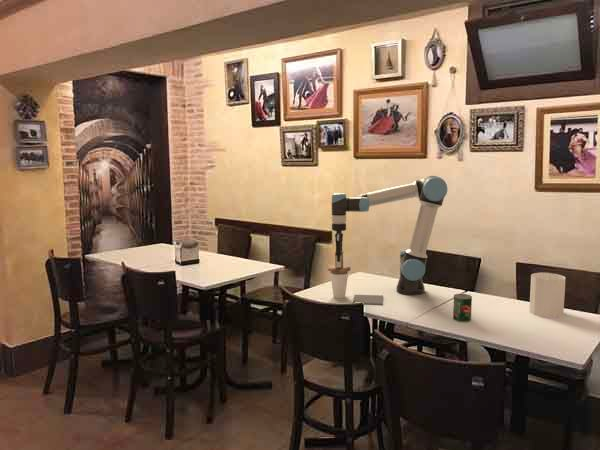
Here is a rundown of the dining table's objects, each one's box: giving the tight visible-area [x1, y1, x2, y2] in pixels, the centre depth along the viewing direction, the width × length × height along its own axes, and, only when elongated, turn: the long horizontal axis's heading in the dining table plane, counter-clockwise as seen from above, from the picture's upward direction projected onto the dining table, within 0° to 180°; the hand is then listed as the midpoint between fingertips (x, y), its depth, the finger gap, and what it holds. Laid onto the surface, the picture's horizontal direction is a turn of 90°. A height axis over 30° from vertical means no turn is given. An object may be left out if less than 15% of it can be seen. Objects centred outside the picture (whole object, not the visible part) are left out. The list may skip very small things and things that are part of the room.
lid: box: [327, 250, 351, 273], centre depth 270 cm, size 12×12×10 cm
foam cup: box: [329, 271, 349, 299], centre depth 271 cm, size 10×9×13 cm
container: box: [529, 272, 566, 319], centre depth 238 cm, size 14×14×18 cm
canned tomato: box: [452, 293, 473, 323], centre depth 232 cm, size 8×8×11 cm
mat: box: [352, 294, 384, 306], centre depth 264 cm, size 15×15×1 cm
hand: (339, 266), depth 270 cm, fingers closed on lid, 4 cm apart
